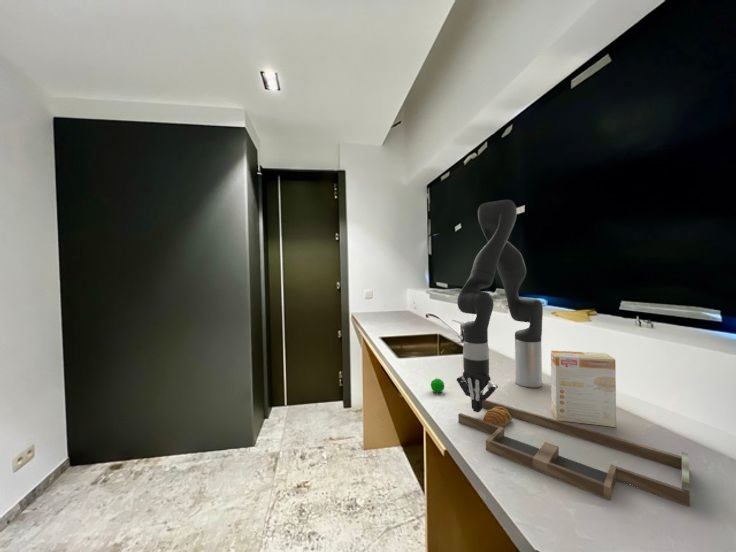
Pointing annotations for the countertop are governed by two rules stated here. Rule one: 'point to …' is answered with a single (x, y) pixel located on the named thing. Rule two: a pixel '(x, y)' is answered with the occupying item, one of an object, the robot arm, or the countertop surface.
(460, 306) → the robot arm
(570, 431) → the lane
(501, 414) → the pastry
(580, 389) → the coffeecake box
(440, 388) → the polyhedron
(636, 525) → the countertop surface
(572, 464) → the mats
